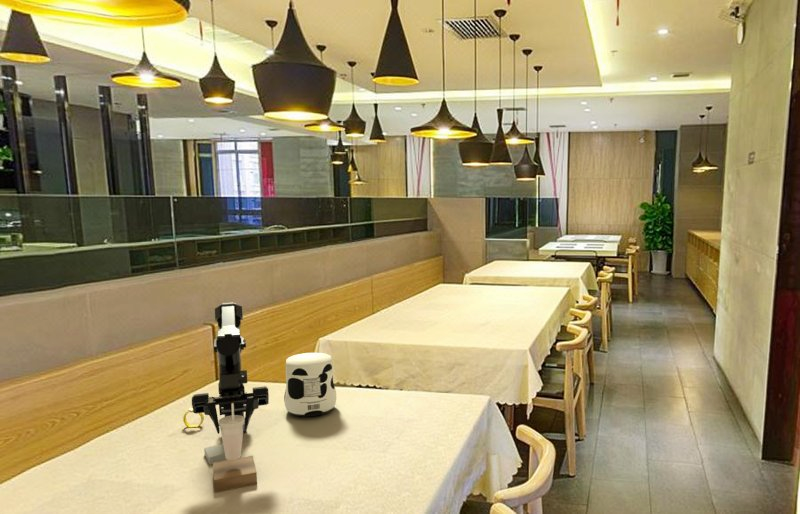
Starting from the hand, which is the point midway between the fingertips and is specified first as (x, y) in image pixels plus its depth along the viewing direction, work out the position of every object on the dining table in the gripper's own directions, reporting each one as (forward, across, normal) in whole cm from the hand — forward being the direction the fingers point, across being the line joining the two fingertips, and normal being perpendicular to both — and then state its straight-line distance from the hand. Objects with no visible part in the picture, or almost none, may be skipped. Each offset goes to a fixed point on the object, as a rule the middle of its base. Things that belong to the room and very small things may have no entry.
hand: (232, 431), depth 136 cm
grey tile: (-2, -4, +20) cm, 21 cm away
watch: (-20, -13, +39) cm, 45 cm away
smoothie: (+4, 0, +6) cm, 7 cm away
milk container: (-20, +24, +39) cm, 50 cm away
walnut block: (+8, 0, +10) cm, 13 cm away
